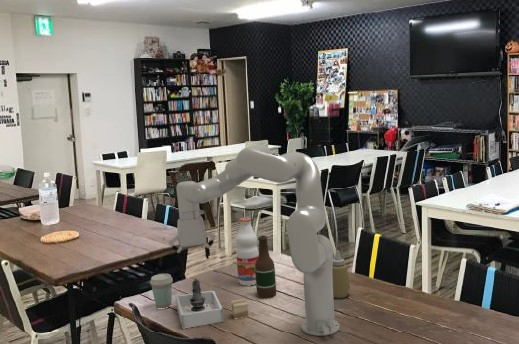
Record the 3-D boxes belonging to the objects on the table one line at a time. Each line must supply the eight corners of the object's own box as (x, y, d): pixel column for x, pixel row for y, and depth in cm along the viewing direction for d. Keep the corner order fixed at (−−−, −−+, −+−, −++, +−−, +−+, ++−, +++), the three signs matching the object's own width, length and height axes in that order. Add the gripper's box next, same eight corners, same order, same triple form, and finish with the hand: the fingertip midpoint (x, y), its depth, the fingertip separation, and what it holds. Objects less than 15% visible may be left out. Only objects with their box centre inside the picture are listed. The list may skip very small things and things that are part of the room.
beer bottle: (277, 291, 214) (273, 233, 211) (275, 298, 207) (271, 238, 203) (257, 292, 215) (253, 234, 212) (255, 299, 207) (251, 239, 204)
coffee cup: (170, 311, 201) (167, 280, 200) (149, 310, 203) (146, 280, 201) (178, 302, 209) (175, 273, 208) (157, 302, 211) (154, 273, 210)
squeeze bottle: (344, 301, 200) (342, 254, 197) (325, 297, 205) (323, 252, 202) (354, 294, 206) (352, 249, 204) (335, 290, 211) (333, 246, 209)
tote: (223, 322, 188) (222, 308, 187) (182, 329, 184) (181, 315, 184) (214, 302, 207) (213, 290, 206) (177, 308, 203) (175, 296, 203)
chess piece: (207, 305, 202) (205, 275, 201) (203, 312, 197) (200, 280, 195) (193, 305, 204) (190, 275, 202) (188, 311, 198) (185, 280, 196)
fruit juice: (263, 279, 229) (259, 216, 225) (256, 287, 220) (251, 221, 217) (243, 278, 232) (238, 215, 229) (235, 285, 224) (230, 220, 220)
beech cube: (248, 317, 191) (247, 303, 191) (234, 319, 190) (233, 306, 189) (245, 312, 196) (244, 299, 195) (232, 314, 195) (231, 301, 194)
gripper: (211, 210, 201) (215, 254, 203) (165, 216, 197) (170, 261, 199) (214, 213, 194) (219, 259, 196) (166, 220, 190) (171, 266, 192)
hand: (194, 260), depth 197 cm, fingers open, 9 cm apart
